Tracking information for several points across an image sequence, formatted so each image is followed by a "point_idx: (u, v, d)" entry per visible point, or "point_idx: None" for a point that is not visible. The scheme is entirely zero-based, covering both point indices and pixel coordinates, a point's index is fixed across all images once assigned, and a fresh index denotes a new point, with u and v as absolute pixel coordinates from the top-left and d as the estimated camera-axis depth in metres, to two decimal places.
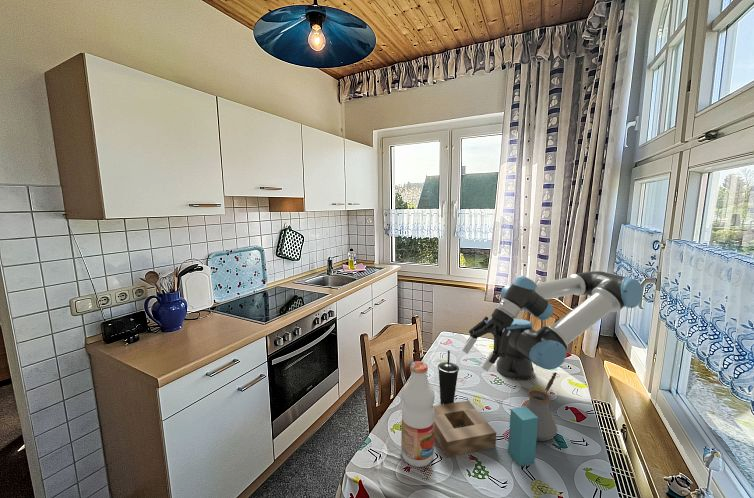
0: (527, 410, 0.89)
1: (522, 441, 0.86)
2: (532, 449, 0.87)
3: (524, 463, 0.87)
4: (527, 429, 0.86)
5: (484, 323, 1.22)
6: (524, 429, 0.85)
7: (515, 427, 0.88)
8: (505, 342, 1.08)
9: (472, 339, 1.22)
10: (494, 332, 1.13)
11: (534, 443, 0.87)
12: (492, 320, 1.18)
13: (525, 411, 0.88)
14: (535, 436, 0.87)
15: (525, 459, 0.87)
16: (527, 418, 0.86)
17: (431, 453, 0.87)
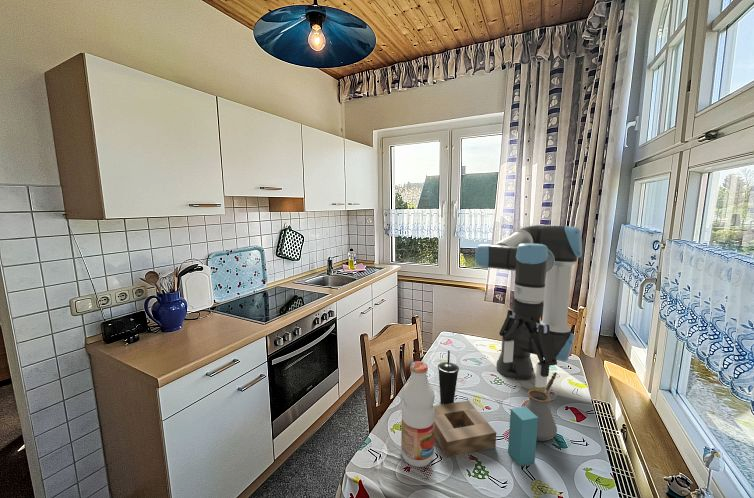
0: (527, 410, 0.89)
1: (522, 440, 0.86)
2: (532, 449, 0.87)
3: (524, 463, 0.87)
4: (527, 429, 0.86)
5: (511, 319, 0.91)
6: (524, 429, 0.85)
7: (515, 427, 0.88)
8: (547, 344, 0.78)
9: (508, 344, 0.93)
10: (528, 333, 0.83)
11: (534, 443, 0.87)
12: (518, 314, 0.87)
13: (525, 411, 0.88)
14: (535, 436, 0.87)
15: (525, 459, 0.87)
16: (527, 418, 0.86)
17: (431, 453, 0.87)
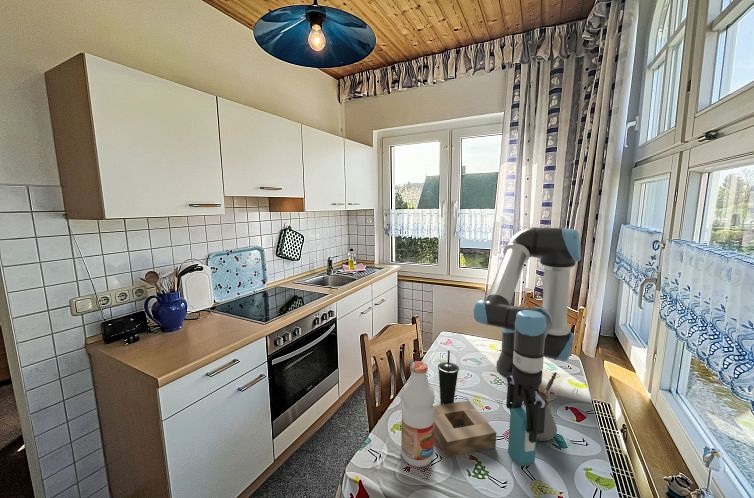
0: None
1: (522, 440, 0.86)
2: None
3: (524, 463, 0.87)
4: None
5: (512, 385, 0.92)
6: (524, 429, 0.85)
7: (515, 427, 0.88)
8: (540, 417, 0.82)
9: None
10: (524, 401, 0.85)
11: None
12: None
13: (525, 411, 0.88)
14: None
15: (525, 459, 0.87)
16: None
17: (431, 453, 0.87)
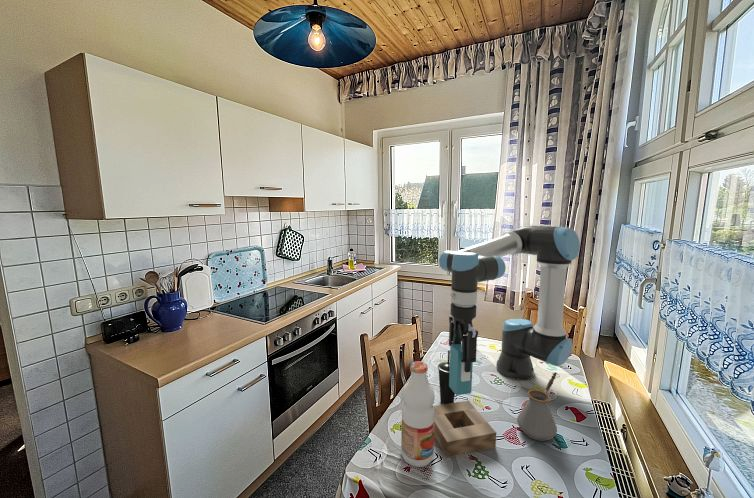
0: None
1: (458, 371, 0.93)
2: None
3: (461, 393, 0.94)
4: None
5: (453, 324, 0.99)
6: (459, 360, 0.93)
7: (453, 361, 0.95)
8: (472, 346, 0.89)
9: None
10: (460, 334, 0.92)
11: (470, 374, 0.94)
12: None
13: None
14: (471, 368, 0.94)
15: (462, 389, 0.94)
16: None
17: (431, 453, 0.87)
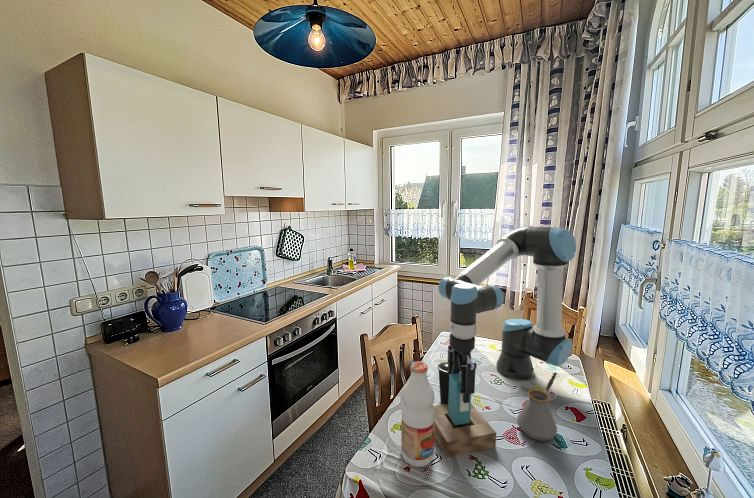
0: None
1: (457, 402, 0.95)
2: None
3: (460, 422, 0.96)
4: None
5: (452, 353, 1.01)
6: (458, 391, 0.94)
7: (452, 390, 0.97)
8: (471, 378, 0.90)
9: None
10: (459, 365, 0.94)
11: (469, 404, 0.96)
12: None
13: None
14: (469, 398, 0.95)
15: (460, 419, 0.96)
16: None
17: (431, 453, 0.87)
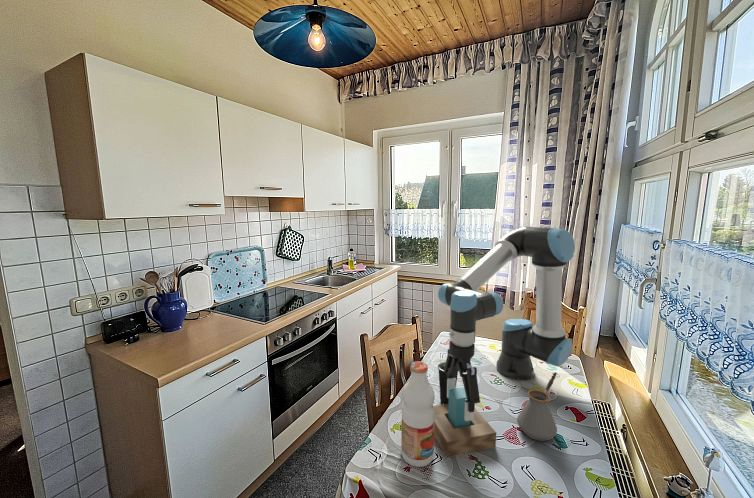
0: (463, 390, 0.99)
1: (457, 417, 0.95)
2: (466, 425, 0.97)
3: None
4: (461, 407, 0.95)
5: (451, 357, 1.02)
6: (458, 407, 0.95)
7: (452, 406, 0.97)
8: (473, 385, 0.89)
9: (450, 381, 1.02)
10: (460, 372, 0.93)
11: None
12: None
13: (461, 391, 0.98)
14: None
15: None
16: (461, 397, 0.95)
17: (431, 453, 0.87)
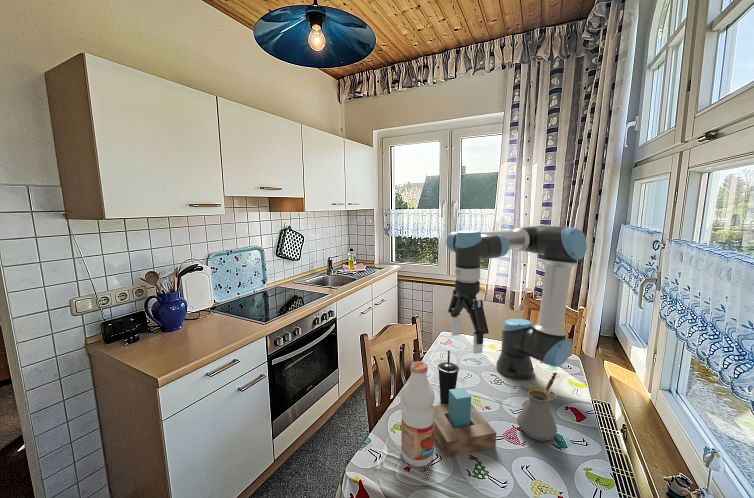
0: (463, 390, 0.99)
1: (457, 417, 0.95)
2: (466, 425, 0.97)
3: None
4: (461, 407, 0.95)
5: (456, 297, 1.04)
6: (458, 407, 0.95)
7: (452, 406, 0.97)
8: (481, 316, 0.91)
9: (455, 319, 1.06)
10: (466, 308, 0.96)
11: (468, 420, 0.96)
12: (460, 293, 1.00)
13: (461, 391, 0.98)
14: (469, 413, 0.96)
15: None
16: (461, 397, 0.95)
17: (431, 453, 0.87)
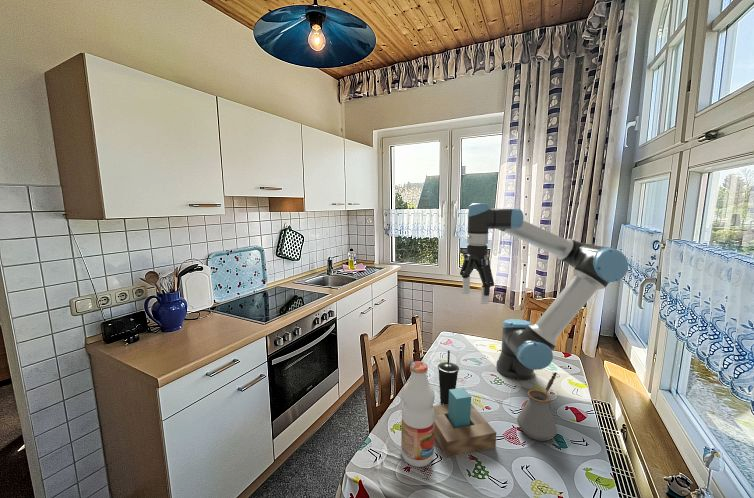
0: (463, 390, 0.99)
1: (457, 417, 0.95)
2: (466, 425, 0.97)
3: None
4: (461, 407, 0.95)
5: (467, 261, 1.24)
6: (458, 407, 0.95)
7: (452, 406, 0.97)
8: (488, 272, 1.11)
9: (465, 280, 1.26)
10: (476, 267, 1.16)
11: (468, 420, 0.96)
12: (470, 256, 1.20)
13: (461, 391, 0.98)
14: (469, 413, 0.96)
15: None
16: (461, 397, 0.95)
17: (431, 453, 0.87)
